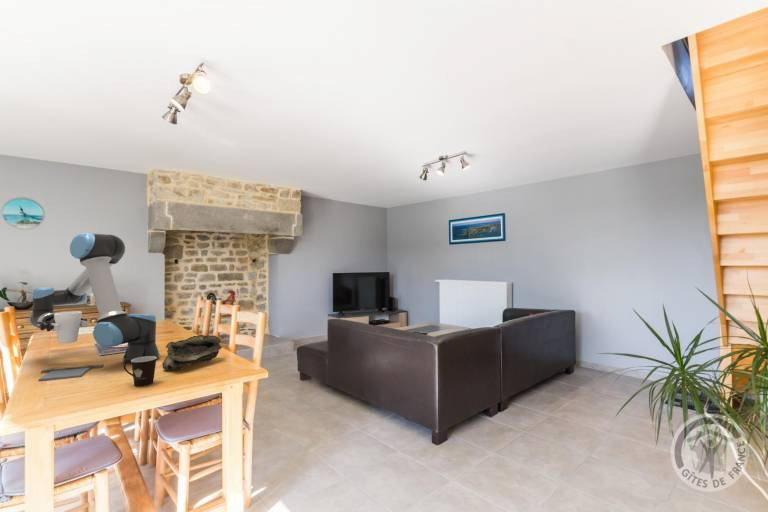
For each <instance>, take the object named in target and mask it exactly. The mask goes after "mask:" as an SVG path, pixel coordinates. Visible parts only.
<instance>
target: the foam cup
mask: <svg viewBox="0 0 768 512" xmlns="http://www.w3.org/2000/svg"><path fill="white" fill-rule="evenodd" d="M82 316H83V311H80V310H79V311H75V310H73V311H62V312H61V311H60V312H54V319H55V324H59V331H56V336H57V342H58V344H72V343H76V342H77V341H78V337H79V331H80V327H81V326H80V321H81V318H83V317H82Z"/></svg>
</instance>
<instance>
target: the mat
mask: <svg viewBox="0 0 768 512" xmlns="http://www.w3.org/2000/svg"><path fill="white" fill-rule="evenodd" d="M91 369H92V368H91V367H90V368H79V369H68V370H58V371H51V372H48V373H45V375H43V376H42V377H40V378H38V382H46V381H55V380H64V379H74V378H81V377H83V376H84V375H85V374H86V373H88V372H89V371H90V370H91Z"/></svg>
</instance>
